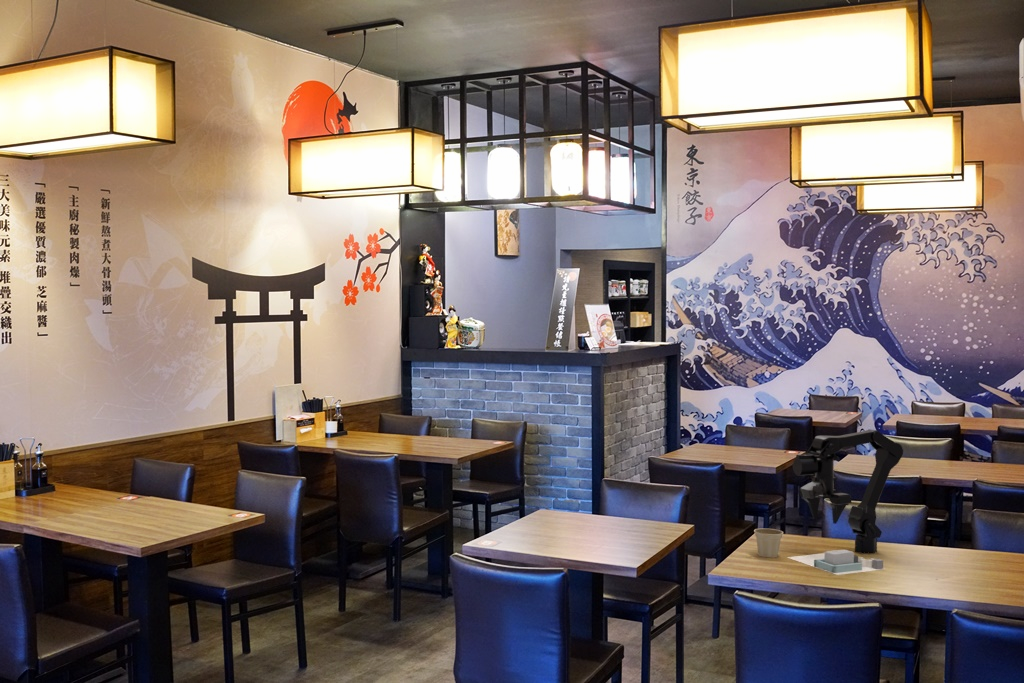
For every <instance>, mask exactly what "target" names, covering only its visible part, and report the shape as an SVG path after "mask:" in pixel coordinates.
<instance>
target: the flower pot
mask: <svg viewBox="0 0 1024 683" xmlns="http://www.w3.org/2000/svg"><path fill="white" fill-rule="evenodd" d="M753 532H754V535H755V538H756V545H757V546H756V547H757V554H758V556H759V557H763V558H778V557H779V553H780V552H779V551H780V545H781V539H782V538H783V534H784V531H782V530H779V529H775V528H755V529H754V530H753Z"/></svg>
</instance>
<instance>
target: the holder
mask: <svg viewBox="0 0 1024 683" xmlns="http://www.w3.org/2000/svg"><path fill="white" fill-rule="evenodd" d="M814 566H815V567H814V568H816V567H818V568H817V569H819V568H821V569H824V570H826V571H825V572H827V571H829V572H828V573H830V572H832V573H831V574H833V573H839V572H847V571H856V570H862V563H852V564H843V565H835V566H834V565H831V564H828V563H825V562H824V559H817V560H814ZM821 569H820V570H821ZM824 570H823V571H824Z"/></svg>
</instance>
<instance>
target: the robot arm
mask: <svg viewBox="0 0 1024 683" xmlns="http://www.w3.org/2000/svg"><path fill="white" fill-rule="evenodd" d="M865 444H866V445H867V444H869V445H870V446H871V447H872V449H874V450H875V454H874V458H875V466H874V468H873V470H872V473H871V477H870V479H869V481H868V483H867V487H866V489H865V492H864V493H863V496H862V499H861V502H859V503H858V505H857V506H856V505H852V507H851V509H850V512H849V513H848V515H847V517H848V520H847V521H848V522H847V523H848V524H849V527H850V528H851V530H852V533H853V534H855V540H854V551H855V552H854V553H857V554H858V553H859V554H868V555H869V554H875V553H877V552H878V538H879V539H880V538H881V536H882V533H883V531H882V530H881V529H880V528H879V526H877V525H876V521H877V512H876V508H877V505H878V503H879V501H880V498H881V495H882V493H883V491H884V488H885V485H886V482H887V481H888V478H889V475H890V473H891V471H892V469H893V468H894V467H895V466H897V465H898V464H899V463H900V461H901V459H902V457H903V455H904V449H903V446H902V445H901V444H900V443H898V442H894V441H893V440H892V439H890V438H889V437H887V436H885V435H884V434H883V433H881V432H880V431H879V430H876V429H866V430H863V431H858V432H852V433H846V434H843V435H842V434H841V435H816V436H815V437H814V439H813V440H812V443H811V445H810V446H809V448H808V450H807V451H806V453H805V454H799V453H798V454H795V459H794V460H793V463H792V471H793V472H794V474H795V476H812V475H815V476H812V478H811V482H808V483H807V484H805V485H803V486H800V487H799V488H798V496H800V497H801V499H802V500H804V501H805V502H806V503H807V505H808V507H809V510H810V513H811V516H812V519H817V517H818V513H819V506H820V501H821V498H823V499H828V500H829V501H830V503H829V506H830V507H831V511H832V513H831V514H832V524H837V523H838V521H839V519H840V517H841V515H842V513H843V512H844V510H845V509H846V507H847V506H848V505H850V504H852V495H851V494H850V493H844V492H837V489H834V488H835V487H834V486H835V485H834V481H837V477H835V476H834V471H835V470H834V466H835V465H834V463H835V461H840V457H839V456H837V454H836V453H839V452H840V451H842V450H843V449H845V448H849V447H851V448H852V447H855V446H860V445H865Z"/></svg>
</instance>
